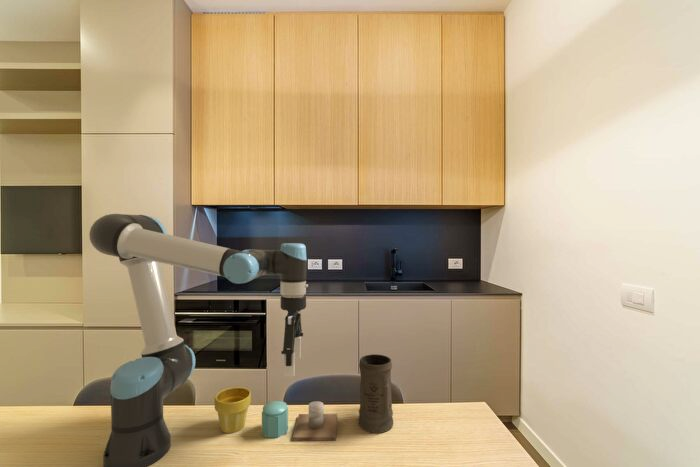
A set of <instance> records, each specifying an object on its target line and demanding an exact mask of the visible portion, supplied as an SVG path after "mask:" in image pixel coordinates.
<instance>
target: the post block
mask: <svg viewBox="0 0 700 467" xmlns="http://www.w3.org/2000/svg"><path fill="white" fill-rule="evenodd" d="M337 422H338V413H324V403H323V402H322V401H319V400H317V401H315V400H314V401H311V402H309V403H308V413H298V416H297V419H296V424H295V428H294V431H293V435H292V441H293V442H300V441H301V442H304V441H305V442H307V441H308V442H311V441H313V442H317V441H319V442H321V441H324V442H326V441H330V442H333V441H334V442H335V441H336V438H337V425H338V423H337Z"/></svg>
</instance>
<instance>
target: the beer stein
mask: <svg viewBox="0 0 700 467" xmlns="http://www.w3.org/2000/svg"><path fill="white" fill-rule="evenodd" d="M358 365H359V366H358V367H359V374H360V384H359V385H360V386H359V393H360V396H359V397H360V398H359V399H360V400H359V401H360V402H359V403H360V404H359V410H358V414H359V415H358V418H357V419H358V421H357V422H358V426H359V427H360V428H361V429H362V430H364V431H366V432H368V433H373V434H374V433H377V434H379V433H386V432H388V431H390V430H391V429H392V428H393V426H394V418H393V414H394V411H393V404H392V376H391V375H392V368H393V364H392V359H391V358H390V357H389V356H386V355H383V354H378V353H377V354H373V353H372V354H368V355H367V354H366V355H363V356H361V357H360V359H359V364H358Z"/></svg>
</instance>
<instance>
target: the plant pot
mask: <svg viewBox="0 0 700 467" xmlns="http://www.w3.org/2000/svg"><path fill="white" fill-rule="evenodd" d="M251 400H252V392H251V390H250V389H249V388H246V387H244V386H235V387H228V388H225V389H222V390H221V391H218V392H217V393H216V394H215V396H214V410H215V412H217V417H218V421H219V422H218V423H219V425H220V430H221V432H224V433H225V434H233V433H234V434H235V433H237V432H239V431H241V430H242V429H243V428H244V427H245V422H246V418H247V413H248V409H249V407H250V406H251V403H252V401H251Z"/></svg>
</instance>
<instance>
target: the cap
mask: <svg viewBox="0 0 700 467" xmlns="http://www.w3.org/2000/svg"><path fill="white" fill-rule="evenodd" d="M288 429H289V407H288V404H287V403H286V401H281V400H273V401H272V400H271V401H269V402H267V403H265V404H263V406H262V411H261V434H262V435H263V436H264V437H266V438H267V439H268V438H269V439H273V438H274V439H275V438H280V437H281V436H284V435H286V434H287V432H288Z"/></svg>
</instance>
